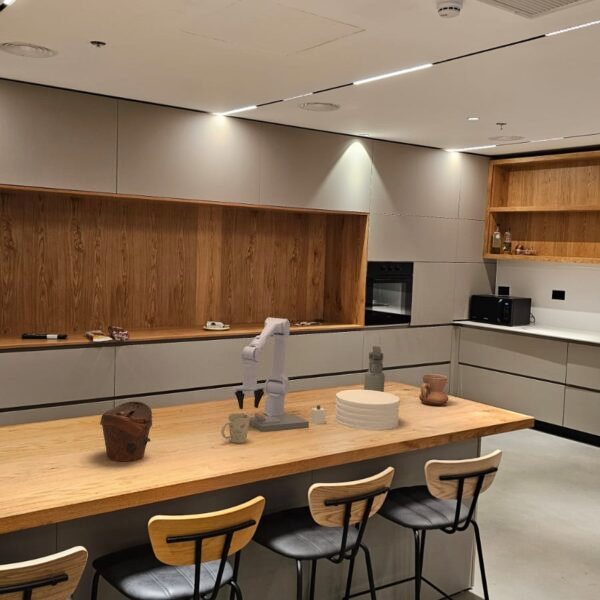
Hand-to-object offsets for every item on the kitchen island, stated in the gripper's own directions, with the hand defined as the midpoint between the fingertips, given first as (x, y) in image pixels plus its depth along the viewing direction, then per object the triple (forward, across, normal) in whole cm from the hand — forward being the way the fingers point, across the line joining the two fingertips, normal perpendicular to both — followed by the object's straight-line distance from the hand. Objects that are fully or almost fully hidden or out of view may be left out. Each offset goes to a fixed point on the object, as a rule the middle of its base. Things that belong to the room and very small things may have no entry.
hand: (248, 408), depth 290 cm
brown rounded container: (+9, -56, -20) cm, 60 cm away
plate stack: (+9, +55, -6) cm, 56 cm away
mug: (+9, -13, -16) cm, 22 cm away
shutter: (+6, +9, 0) cm, 11 cm away
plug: (+8, +33, -1) cm, 34 cm away
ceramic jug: (+9, +108, +13) cm, 109 cm away
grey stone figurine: (+9, +78, +22) cm, 81 cm away
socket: (+8, +14, 0) cm, 16 cm away
